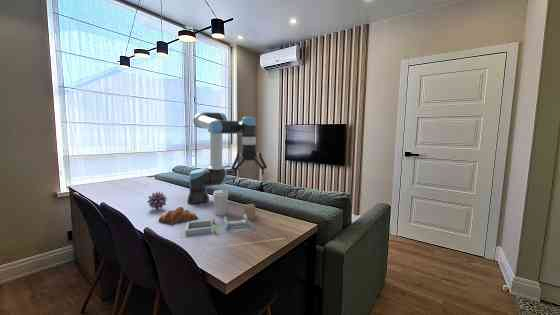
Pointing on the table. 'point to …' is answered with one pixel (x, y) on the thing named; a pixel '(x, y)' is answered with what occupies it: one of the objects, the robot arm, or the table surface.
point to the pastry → (177, 216)
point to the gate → (235, 222)
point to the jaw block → (250, 211)
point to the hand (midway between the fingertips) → (249, 180)
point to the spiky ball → (157, 200)
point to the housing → (211, 228)
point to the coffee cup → (220, 201)
